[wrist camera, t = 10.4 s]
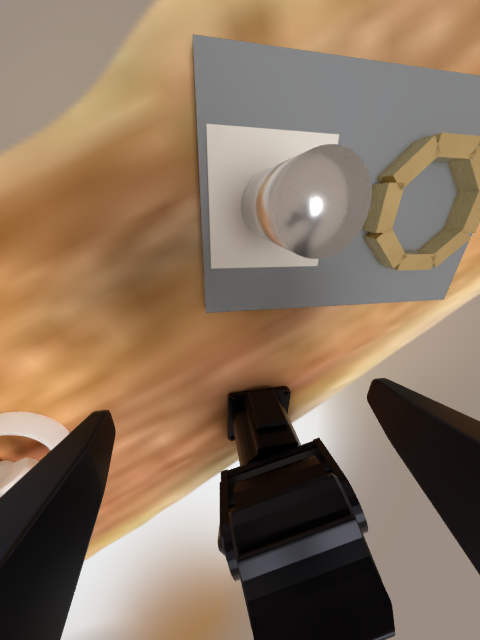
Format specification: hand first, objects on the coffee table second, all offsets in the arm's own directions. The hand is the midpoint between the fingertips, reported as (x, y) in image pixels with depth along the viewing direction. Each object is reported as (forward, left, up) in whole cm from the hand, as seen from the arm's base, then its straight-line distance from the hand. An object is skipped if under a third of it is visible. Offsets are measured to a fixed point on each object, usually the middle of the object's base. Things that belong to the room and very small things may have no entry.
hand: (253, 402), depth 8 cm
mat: (+6, -3, -11) cm, 13 cm away
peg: (+6, -3, -11) cm, 13 cm away
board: (+6, -10, -12) cm, 17 cm away
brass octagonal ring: (+6, -15, -11) cm, 19 cm away
